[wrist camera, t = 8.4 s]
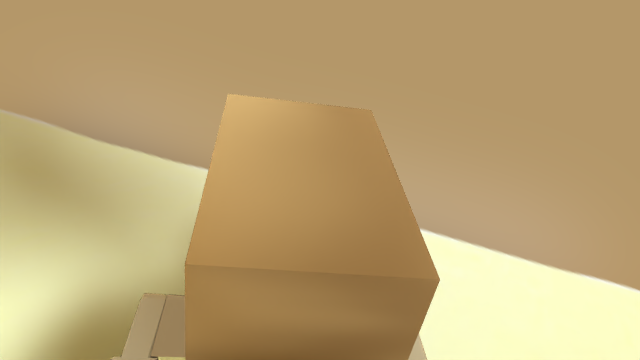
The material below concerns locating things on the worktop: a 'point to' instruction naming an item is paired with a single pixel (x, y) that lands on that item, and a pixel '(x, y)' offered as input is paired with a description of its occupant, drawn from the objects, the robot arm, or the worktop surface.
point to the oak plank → (304, 241)
